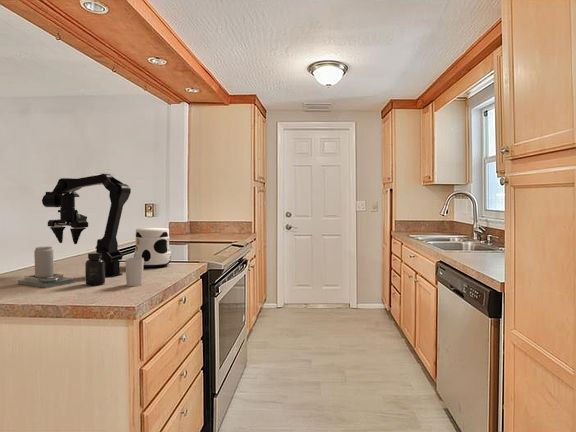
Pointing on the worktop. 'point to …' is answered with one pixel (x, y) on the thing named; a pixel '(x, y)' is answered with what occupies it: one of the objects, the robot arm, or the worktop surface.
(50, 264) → the beverage can
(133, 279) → the drinking glass
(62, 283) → the grey flat piece
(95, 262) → the supplement bottle
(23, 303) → the worktop surface
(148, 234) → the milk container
